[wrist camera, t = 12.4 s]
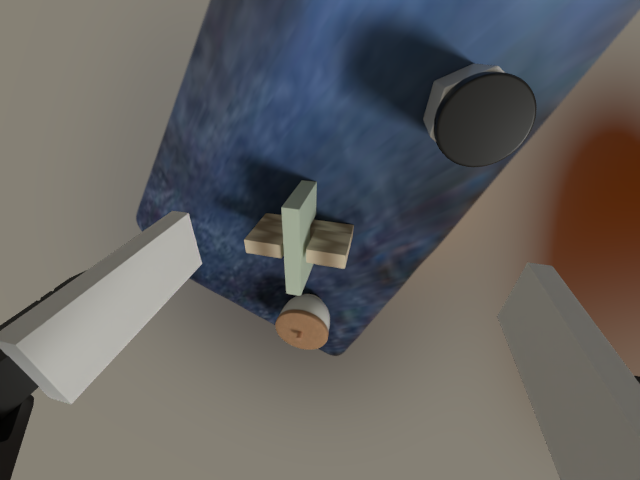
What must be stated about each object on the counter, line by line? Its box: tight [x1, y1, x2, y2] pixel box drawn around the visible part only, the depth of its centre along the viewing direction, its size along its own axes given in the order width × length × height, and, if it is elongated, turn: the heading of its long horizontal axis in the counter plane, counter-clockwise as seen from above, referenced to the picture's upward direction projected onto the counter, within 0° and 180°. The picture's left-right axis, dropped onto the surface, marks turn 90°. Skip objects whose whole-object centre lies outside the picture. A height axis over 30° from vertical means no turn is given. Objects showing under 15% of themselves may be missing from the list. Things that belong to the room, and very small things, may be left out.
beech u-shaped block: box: [244, 213, 354, 269], centre depth 46 cm, size 16×2×9 cm, turn 88°
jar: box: [423, 64, 536, 167], centre depth 30 cm, size 9×8×12 cm
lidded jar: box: [275, 294, 330, 349], centre depth 57 cm, size 11×11×9 cm
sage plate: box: [281, 180, 317, 296], centre depth 46 cm, size 16×2×10 cm, turn 178°
